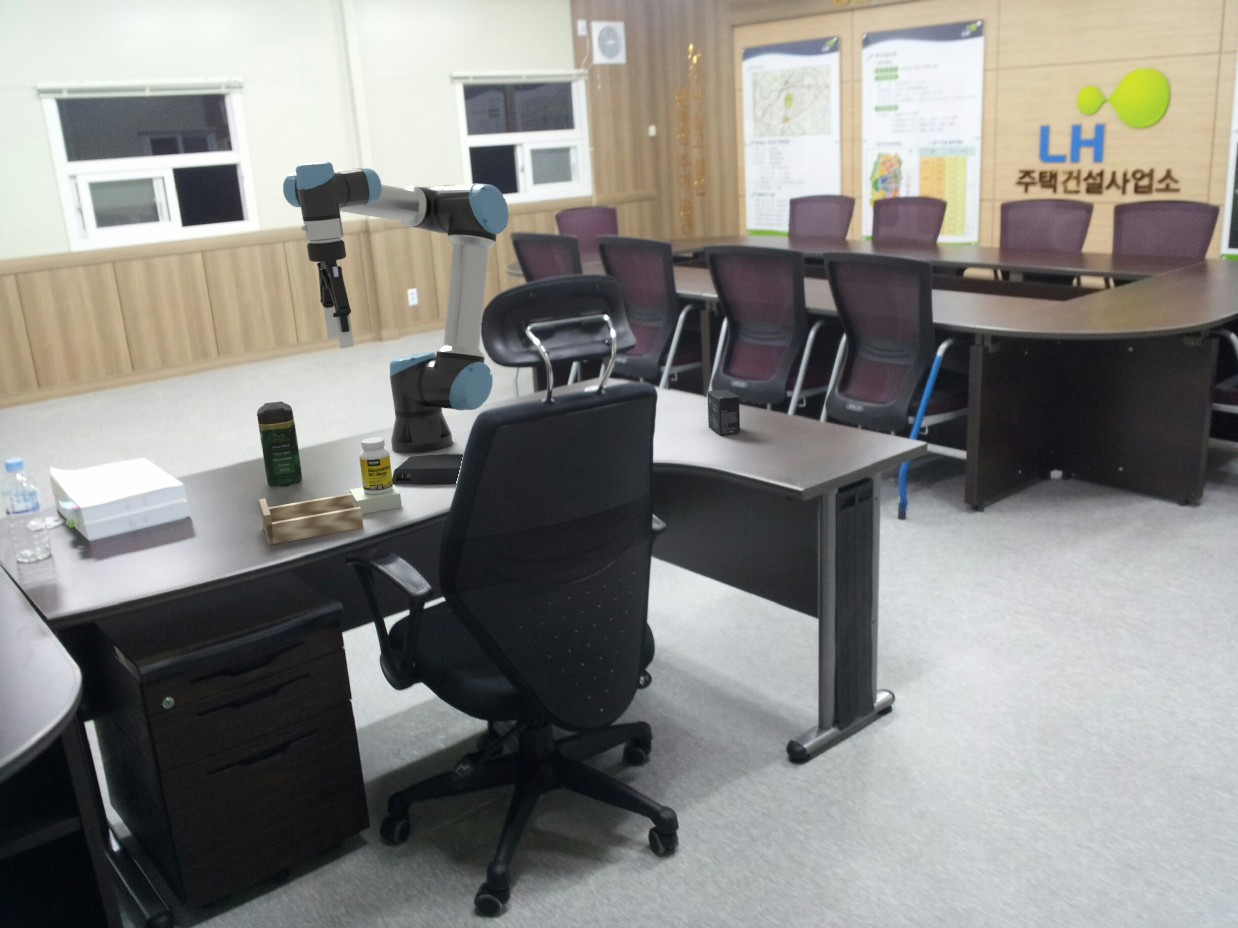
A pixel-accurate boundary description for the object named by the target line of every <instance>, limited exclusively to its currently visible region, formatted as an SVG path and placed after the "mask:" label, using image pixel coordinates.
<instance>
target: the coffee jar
mask: <svg viewBox="0 0 1238 928" xmlns="http://www.w3.org/2000/svg"><path fill="white" fill-rule="evenodd" d="M293 411H294V410H293V408H292V406H291V405H290V404H288V403H286V402H283V401H274V402H273V401H272V402H265V403H264V404H263V405H262V406H260V407H259V408H258V409H257V412H256V416H257V423H258V429H259V430H258V432H259V436H260V443H261V449H262V455H263V462H264V469H265V476H266V481H267V484H268V486H269V487H275V488H276V487H279V488H287V487H290V486H292V485H295V484H297V485H298V484H299V483H301V482H302V480H303V473H302V464H301V459H300V458H301V457H300V450H299V443H298V435H297V429H296V428H297V427H296V424H295V416H294V412H293Z"/></svg>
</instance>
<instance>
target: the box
mask: <svg viewBox="0 0 1238 928" xmlns="http://www.w3.org/2000/svg"><path fill="white" fill-rule="evenodd" d="M740 415H741V414H740V396H738V395H737V394H735V393H733V392H732V391H730V390H729V389H718V390H709V391H707V416H708V417H707V418H708V421H707V423H708V428H709V429H711V430H712V431H713V432H714V433H716V434H717V435H718V436H727V435H737V434H741V426H740V425H741V422H740V421H741V420H740V419H741V418H740Z"/></svg>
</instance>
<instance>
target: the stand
mask: <svg viewBox="0 0 1238 928" xmlns="http://www.w3.org/2000/svg"><path fill="white" fill-rule="evenodd" d="M349 493H352V496H353V503H354V508H355V507H360V508H361V513H362V515H364V514H366V515H367V514H371V513H376V512H383V511H387V510H392V509H397V508H402V507H403V505H402V498H401V492H400V491H399V490H398V488H397V487H396V486H395V484H393V488H392V490H391V491H389V492H386V493H382V494H367V493H365V492H364V490H363V486H362V487H356V488H350V489H349Z"/></svg>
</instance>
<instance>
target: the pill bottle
mask: <svg viewBox="0 0 1238 928" xmlns="http://www.w3.org/2000/svg"><path fill="white" fill-rule="evenodd" d="M360 443H361V449H363V450H361V452H360V453H359V464H360V473H361V474H360V475H361V482H362V487H363V490H364V492H365V493H367V494H382V493H386V492H389V491H391V490H392V488H393V485H394V484H393V482H392V477H393V474H392V465H391V458H390V457H391V456H390V452H389V450H388V449H387V448H386V447H385V444H386V443H385V439H384V438H383V437H370V438H364V439H362V440H361V442H360Z"/></svg>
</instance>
